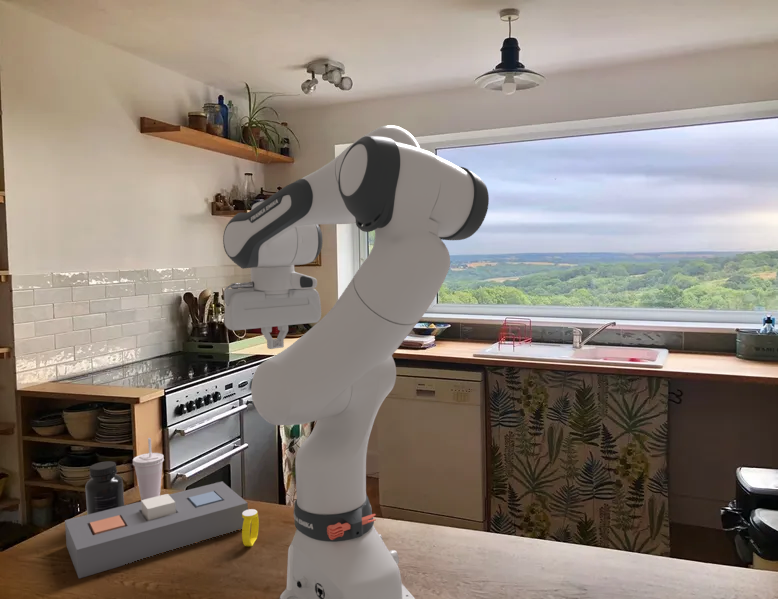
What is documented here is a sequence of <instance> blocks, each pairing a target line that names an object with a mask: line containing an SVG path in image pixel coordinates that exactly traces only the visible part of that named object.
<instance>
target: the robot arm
mask: <svg viewBox="0 0 778 599" xmlns="http://www.w3.org/2000/svg"><path fill="white" fill-rule="evenodd" d="M489 200H490V198H489V191H488V187H487V185H486V183H485V182H484V180H482V179H481V177H479V176H478V175H477V174H476V173H474V172H473V171H471V170H470V169H469V168H466V167H463V166H460V165H459V166H458V165H457V164H455V163H453V162H450V161H449V160H447V159H445V158H443V157H441V156H439V155H435V153H433V152H432V151H429V150H426V149H423V148H421V146H420V145H419V143H418V141H417V139H416V138H415V137H414V136H413V134H412V133H410V132H409V131H408V130H406V129H404V128H402V127H400V126H398V125H393V124H389V125H387V124H386V125H383V126H382V125H381V126H379V127H376V128H375V129H374V130H371V131H369V132H367V133H365V134H364V135H362V136H361V137H360V138H358V139H357V140H355V141H354V142H353V143H352V144H350V145H349V146H347V148H345V149H344V150H343V151H342V152H341V153H339V155H337V156H336V157H335V158H334V159H331V161H329V162H328V163H326V164H325V165H323V166H321V167H320V168H318V169H317V170H315V171H313V172H311V173H309V174H308V175H305V176H304V177H302V178H299V179H297V180H296V181H293V182H291V183H289V184H288V185H286V186H283V188H280V190H277V191H276V192H275V193H273V194H272V195H271V196H269V197H268V198H267V199H264V200H263V199H262V200H259V201H257V202H255V203H254V204H252V206H251V210H250V211H247V212H238V213H236V214H235V215H234V216H233V217H232V218H231V219H230V220H229V222H228V223H227V224H226V226H225V228H224V230H223V236H222V237H223V239H222V241H223V242H222V244H223V249H224V251H225V254H226V255H227V257H228V258H229V259H230V260H231V261H232V262H233V263H234V264H235V265H237V266H238V267H239V268H241V269H249V268H250V281H249V282H248V281H246V282H232V283H230V285H228V286H226V287H225V289H224V290H223V301H224V303H225V306H224V307H225V308H224V326H225V327H226V328H227V330H230V331H242V330H243V331H244V330H252V329H254V330H255V329H261V330H260V331H261V334H262V335H263V337H264V338H265V340H266V348H267V349H268V350H273V349H279V348H280V349H281V348H284V346H285V345H284V344H285V343H284V342H285V341H284V340H285V338H286V336H287V334H288V332H289V326H293V325H304V324H313V323H315V324H314V325H313V326H312V327H311V328H310V329H309V330H308V331H306V332H305V333H304V334H303V335H301V337H299V338H298V339H297V340H296V341H294V342H293V343H292V344H290V346H288V347H287V348H285V349H284V350H282V351H281V352H279V353H277V354H276V355H273V356H272V357H270V358H268V359H266V360H264V361H262V362H261V363H260V364H259V365H258V366H257V368H256V369H255V371H254V374H253V376H252V379H251V387H250V388H251V390H250V391H251V399H252V401H253V402H252V403H253V405H254V407H255V410H256V411H257V413H258V414H259V416H261V418H262V419H263V420H264V421H266V422H267V423H269V424H270V425H274V426H292V425H293V426H295V425H296V426H297V425H306V424H309V423H313V422H316V423H315V425H314V427H313V429H312V431H311V433H310V435H308V437H307V438H306V439H305V440H304V441H303V442H302V444H301V445H300V446H299V448H298V450H297V452H296V456H295V461H294V462H295V487H296V488H295V489H296V490H295V492H296V499H295V500H294V507H293V518H294V519H293V520H294V523H293V524H294V527H295V528H296V529H295V533H294V536H293V538H292V540H291V542H290V545H289V546H288V550H287V567H286V570H287V571H286V573H287V574H286V588H285V589H284V591H282V593H281V594H280V596H279V599H416V598H415V597H414V595H412V593H411V592H410V591H409V590H408V589H407V587H406V586H405V585H404V584H403V583H402V576H401V575H402V574H401V572H400V568H399V566H398V565H399V561H400V560H399V559H400V558H399V554H398V552H397V550H395V549H392V550H391V549H390V550H389V549H388V547H387V545H386V544H385V542H384V540H383V536H382V534H380V533H379V532H378V530H376V528H375V525H374V523H375V521H376V519H375V518H374V517H376V515H377V514H376V513H373V512H372V510H373V509H372V505H371V503H370V499H369V496H368V495H367V452H368V446H369V441H370V440H369V439H370V436H371V432H372V429H373V425H374V423H375V420H376V417H377V415H378V412H379V410H380V408H381V406H382V404H383V402H384V401H385V400H386V397H388V395H389V394H390V393H391V391H392V390H393V389H394V387H395V384H396V381H397V367H396V362H395V360H394V357H393V355H394V353H395V352H396V351H397V349H399V347H400V346H401V344H403V342H404V341H405V340H406V338H407V336H409V334H410V333H411V332H412V330H413V329H414V328H415V327H416V325H417V324H418V323H419V322H420V320H421V319H422V318H423V316H424V315H425V313H426V312H427V311H428V309H429V308H430V306H431V305H432V303H433V302H434V300H435V299H436V297H437V296H438V295H437V294H438V293H439V291H440V289H441V287H442V285H443V283H444V282H445V279H446V277H447V275H448V273H449V271H450V267H451V256H450V252H449V250H448V247H447V245H446V244H445V243H444V242H443V241H461V240H465V239H466V240H467V239H468V238H470V237H472V236H473V235H474V234H475V233H476V232H477V231H479V229H480V227H481V226H482V224H483V222H484V220H485V218H486V216H487V213H488V209H489V204H490V203H489ZM351 224H355V225H356V227H357V228H358V229H359V230H360V231H362V232H364V233H370V232H373V231H374V243H373V245H372V248H371V250H370V252H369V254H368V256H367V257H366V258H365V260H364V261H363V262H362V264H361V265H360V266H359V268H358V270H357V271H356V273H355V274H354V276H353V277H352V278H351V280H350V281H349V283H348V284H347V286H346V287H345V289H344V290H343V292H342V294H341V295H340V297H339V298H338V299H337V300H336V302H335V303H334V305H333V307H332V308H331V309H330V310H329V311H328V312H326V314H325V315H324V316H322V304H321V303H322V302H321V296H320V294H319V293H320V292H319V291H317V289H315V288H317V286H318V280H317V278H315V277H313V276H309V275H306V274H303V273H299V272H296V271H295V266H300V265H301V266H302V265H307V264H310V263H313V262H314V261H315V260H316V259H317V258H318V257H319V256H320V254H321V251H322V248H323V232H322V229H321V227H320V225H351ZM273 327H274V328H275V327H277V330H278V331H279V332H278V335H277V338H273V337H272V334H271V333H272V331H273Z"/></svg>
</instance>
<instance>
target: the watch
mask: <svg viewBox="0 0 778 599" xmlns="http://www.w3.org/2000/svg"><path fill="white" fill-rule="evenodd" d="M258 512H259V511H258V510H256V509H254V508H251V509H250V508H248V510H245V511H244V512H243V513H242V517H243V518H244V521H243V527H242V530H241V539H242V545H244V546H245V547H253V546H254V544H255V542H256V540H257V539H258V536H259V529H260V528H259V527H260V526H259V525H260V522H259V521H260V520H259V513H258Z"/></svg>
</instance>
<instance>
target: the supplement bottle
mask: <svg viewBox="0 0 778 599" xmlns="http://www.w3.org/2000/svg"><path fill="white" fill-rule="evenodd" d="M117 473H118V469H117V462H115V461H101V462H97V463H94V464H92V465H90V467H89V480H87V482H86V484H85V488H84V490H85V500H86V513H87V514H86V515H88V514H92V513H96V512H101V511H105V510H109V509H113V508H117V507H121V506H125V497H124V496H125V495H124V494H125V493H124V483H123V478H122V477H121V475H119V474H117Z"/></svg>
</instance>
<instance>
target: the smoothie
mask: <svg viewBox="0 0 778 599" xmlns="http://www.w3.org/2000/svg"><path fill="white" fill-rule="evenodd" d="M147 442H148V453H143V454H142V453H141V454H139V455H137V456H134V457H133V459H132V466H133V467H134V469H135V475H136V480H137V485H138V491H139V495H140V496H139V497H140V501H141V500H144V499H148V498H153V497H157V496H161V485H162V473H163V471H162V470H163V462H164V461H165V459H164V457H165V456H164V454H163V453H159V452H153V450H152V438H151V437H148V438H147Z"/></svg>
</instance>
